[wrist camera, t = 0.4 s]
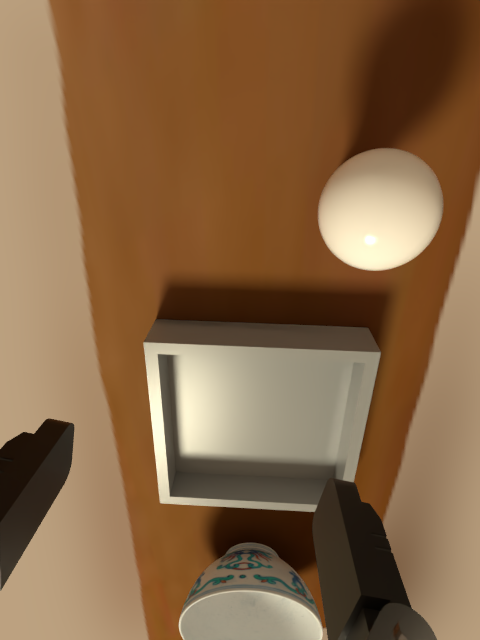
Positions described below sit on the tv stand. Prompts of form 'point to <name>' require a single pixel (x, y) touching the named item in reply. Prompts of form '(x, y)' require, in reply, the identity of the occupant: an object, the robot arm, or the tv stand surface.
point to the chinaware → (250, 600)
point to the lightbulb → (380, 209)
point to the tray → (257, 410)
